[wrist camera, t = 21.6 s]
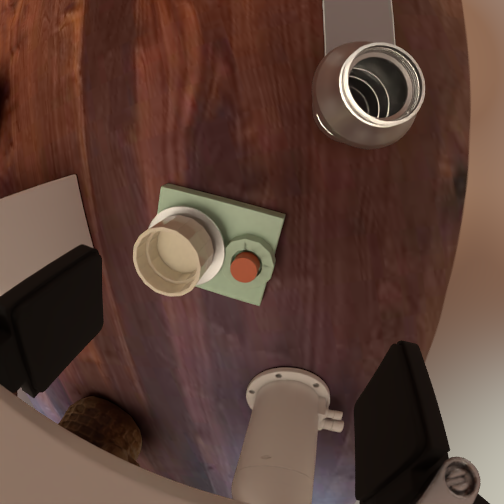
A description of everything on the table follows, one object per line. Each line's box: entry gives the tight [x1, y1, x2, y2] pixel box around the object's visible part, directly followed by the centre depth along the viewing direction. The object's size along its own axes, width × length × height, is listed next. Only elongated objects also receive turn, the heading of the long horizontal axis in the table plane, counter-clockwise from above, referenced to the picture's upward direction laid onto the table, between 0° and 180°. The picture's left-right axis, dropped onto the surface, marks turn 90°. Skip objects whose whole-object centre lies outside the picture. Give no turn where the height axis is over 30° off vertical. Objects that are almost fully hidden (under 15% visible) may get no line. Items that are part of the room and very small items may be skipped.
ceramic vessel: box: [58, 396, 142, 467], centre depth 48 cm, size 23×24×25 cm
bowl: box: [133, 215, 214, 296], centre depth 32 cm, size 7×7×5 cm
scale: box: [157, 183, 285, 306], centre depth 36 cm, size 14×11×4 cm
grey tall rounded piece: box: [312, 41, 425, 149], centre depth 20 cm, size 6×7×20 cm
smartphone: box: [322, 0, 395, 114], centre depth 26 cm, size 7×1×15 cm
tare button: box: [230, 252, 260, 283], centre depth 33 cm, size 3×3×2 cm
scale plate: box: [149, 206, 225, 285], centre depth 34 cm, size 9×9×1 cm
